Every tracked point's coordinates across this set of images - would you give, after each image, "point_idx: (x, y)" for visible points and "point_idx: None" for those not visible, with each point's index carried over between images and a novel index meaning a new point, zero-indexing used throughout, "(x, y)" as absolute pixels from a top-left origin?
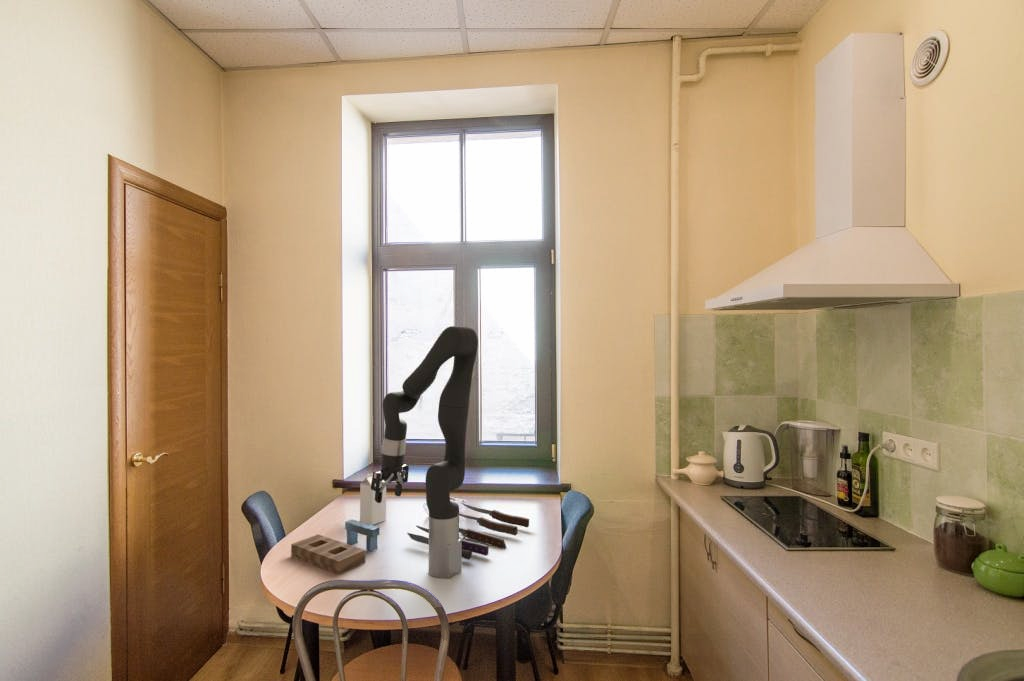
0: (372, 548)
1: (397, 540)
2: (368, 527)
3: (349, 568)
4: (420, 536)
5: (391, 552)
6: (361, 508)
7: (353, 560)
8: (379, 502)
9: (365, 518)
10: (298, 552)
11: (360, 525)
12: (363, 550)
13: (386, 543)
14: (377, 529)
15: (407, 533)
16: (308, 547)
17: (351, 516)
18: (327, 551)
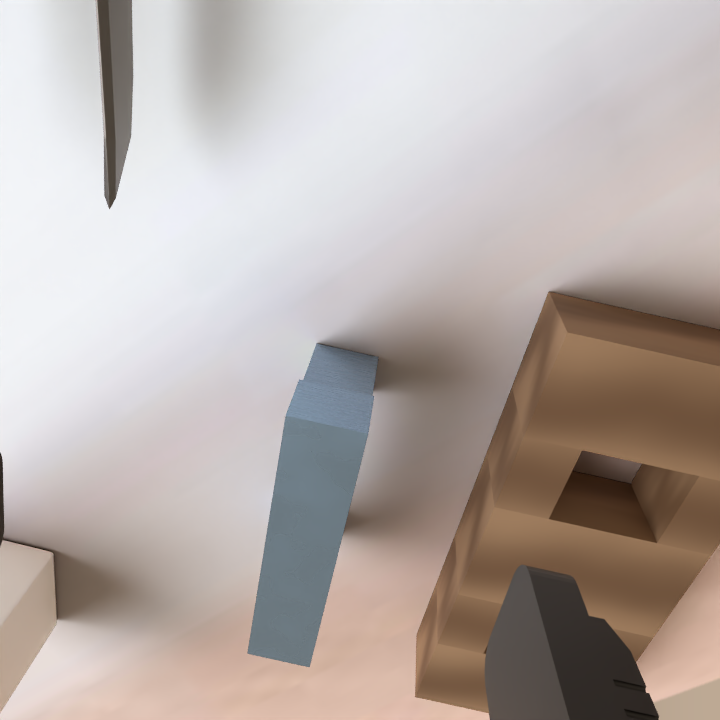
0: (358, 361)
1: (131, 295)
2: (331, 490)
3: (688, 325)
4: (104, 3)
5: (325, 213)
6: (8, 690)
7: (670, 338)
8: (569, 584)
9: (39, 615)
10: None
11: (321, 559)
12: (579, 338)
13: (212, 336)
14: (311, 413)
15: (115, 193)
16: None
17: (33, 680)
18: (652, 542)
